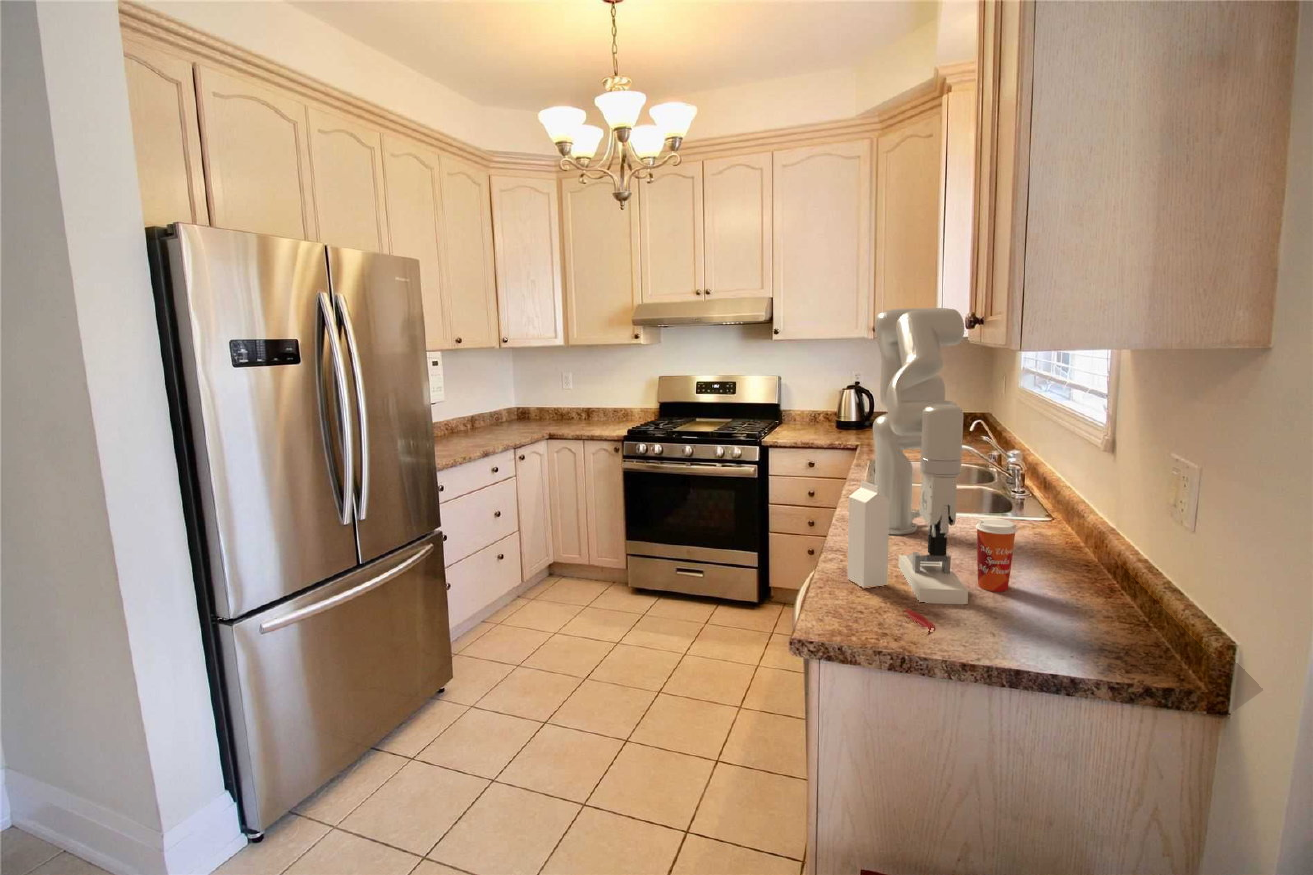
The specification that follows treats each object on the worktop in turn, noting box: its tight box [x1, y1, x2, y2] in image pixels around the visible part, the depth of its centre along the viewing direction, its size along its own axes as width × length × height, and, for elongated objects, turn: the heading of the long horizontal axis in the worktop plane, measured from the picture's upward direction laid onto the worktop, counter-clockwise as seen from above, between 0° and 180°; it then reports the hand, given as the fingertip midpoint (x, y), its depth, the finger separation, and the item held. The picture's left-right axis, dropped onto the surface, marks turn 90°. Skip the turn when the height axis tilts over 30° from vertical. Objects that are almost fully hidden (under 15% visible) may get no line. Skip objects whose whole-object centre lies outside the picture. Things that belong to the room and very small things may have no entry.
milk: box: [846, 480, 890, 587], centre depth 139 cm, size 6×6×22 cm
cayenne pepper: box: [906, 608, 936, 633], centre depth 122 cm, size 12×5×2 cm, turn 167°
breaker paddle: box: [920, 554, 948, 562], centre depth 138 cm, size 9×4×1 cm, turn 171°
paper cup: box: [974, 517, 1018, 593], centre depth 136 cm, size 8×8×14 cm
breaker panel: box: [897, 551, 969, 605], centre depth 139 cm, size 20×9×7 cm, turn 171°
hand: (936, 554), depth 134 cm, fingers closed
